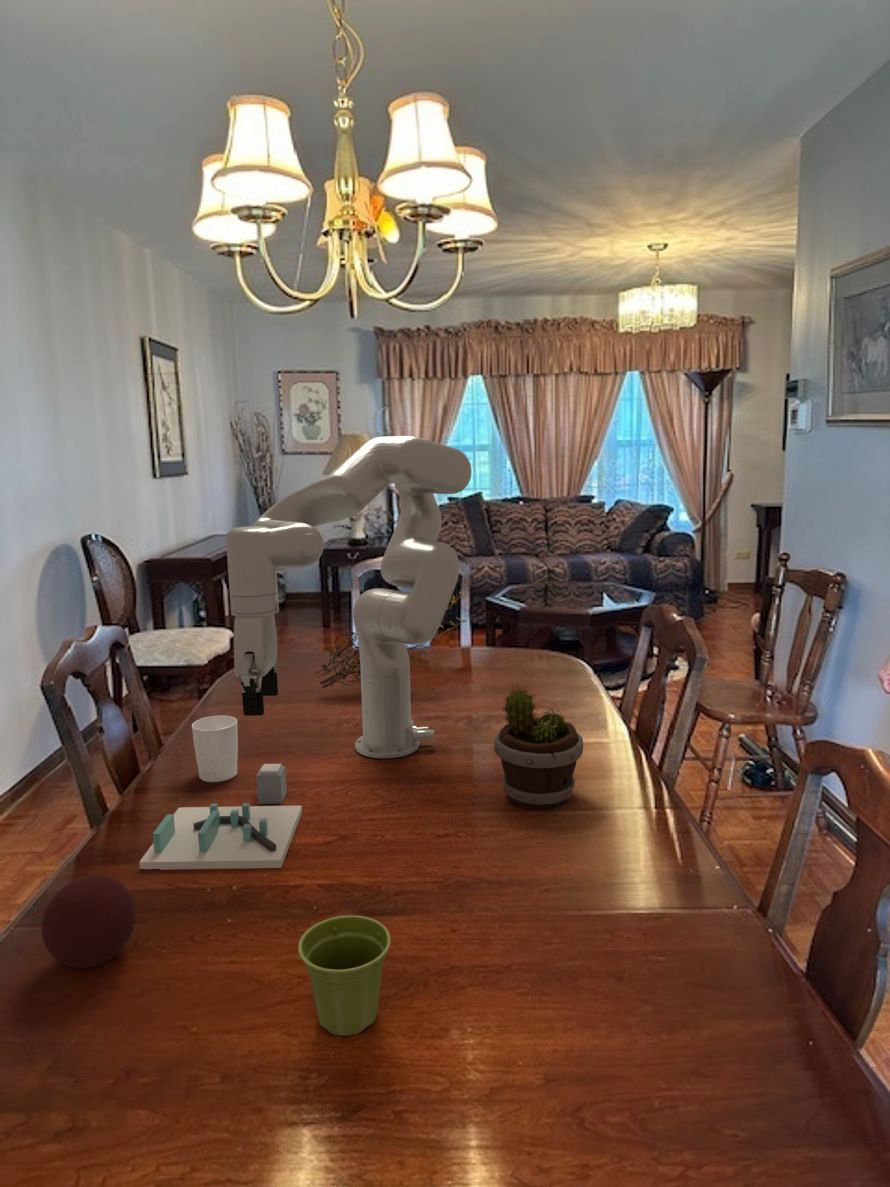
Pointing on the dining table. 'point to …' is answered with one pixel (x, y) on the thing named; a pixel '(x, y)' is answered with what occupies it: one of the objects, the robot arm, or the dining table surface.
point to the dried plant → (358, 656)
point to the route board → (226, 841)
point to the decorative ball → (88, 921)
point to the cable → (242, 821)
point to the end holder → (168, 830)
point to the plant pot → (345, 970)
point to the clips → (235, 821)
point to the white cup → (216, 747)
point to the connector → (271, 784)
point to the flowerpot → (536, 754)
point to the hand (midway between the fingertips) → (261, 704)
